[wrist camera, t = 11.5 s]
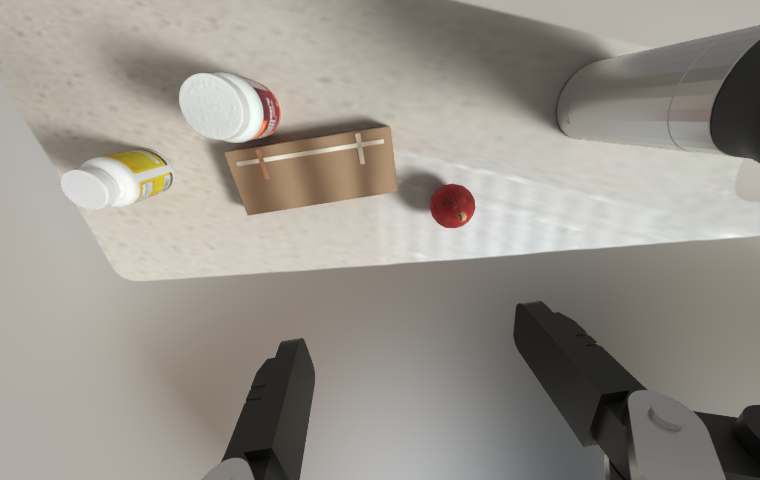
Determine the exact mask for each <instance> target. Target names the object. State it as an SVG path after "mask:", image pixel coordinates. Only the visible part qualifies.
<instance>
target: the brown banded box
mask: <svg viewBox="0 0 760 480" xmlns="http://www.w3.org/2000/svg"><path fill="white" fill-rule="evenodd" d="M224 154H225V157H226V159H227V162H228V165H229V167H230V170H231V173H232V175H233V178H234V180H235V183H236V186H237V188H238V191H239V194H240V196H241V199H242V202H243V204H244V207H245V210H246V212H247V215H254V214H260V213H266V212H272V211H279V210H285V209H291V208H298V207H304V206H310V205H316V204H323V203H329V202H335V201H341V200H348V199H354V198H360V197H367V196H373V195H379V194H385V193H392V192H398V189H397V181H396V172H395V163H394V154H393V146H392V137H391V128H390V126H382V127H376V128H369V129H363V130H357V131H350V132H344V133H337V134H331V135H325V136H318V137H312V138H306V139H299V140H293V141H286V142H280V143H274V144H267V145H261V146H255V147H248V148H242V149H235V150H232V151H228V152H225V153H224Z"/></svg>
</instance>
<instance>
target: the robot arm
mask: <svg viewBox="0 0 760 480" xmlns="http://www.w3.org/2000/svg"><path fill="white" fill-rule="evenodd" d="M557 119H558V123H559V126H560V128H561V130H562V131H563V132H564V133H565V134H566V135H568V136H569V137H571V138H574V139H581V140H590V141H598V142H606V143H615V144H624V145H633V146H642V147H651V148H660V149H669V150H678V151H687V152H698V153H707V154H716V155H725V156H734V157H743V158H750V159H753V160H755V161H757V162H759V163H760V25H758V26H753V27H749V28H745V29H740V30H736V31H731V32H727V33H723V34H718V35H714V36H709V37H705V38H700V39H695V40H691V41H686V42H682V43H677V44H673V45H668V46H664V47H659V48H655V49H650V50H646V51H641V52H637V53H632V54H627V55H622V56H618V57H613V58H609V59H605V60H600V61H596V62H593V63H590V64H588V65H586V66H584V67H583V68H581V69H580V70H579V71H578V72H576V73H575V74H574V75H573V76H572V77H571V79H570V80H569V81H568V82H567V84H566V85H565V87H564V89H563V91H562V93H561V95H560V98H559V102H558V106H557ZM513 336H514V341H515V345H516V347H517V349H518V351H519V353H520V354H521V355H522V357H523V358H524V360H525V361H526V363H527V364H528V366H529V367H530V369H531V370H532V371H533V373H534V375H535V376H536V377H537V379H538V380H539V382H540V383H541V385H542V386H543V388H544V389H545V391H546V392H547V394H548V395H549V396H550V398H551V399H552V401H553V402H554V404H555V405H556V407H557V408H558V410H559V411H560V413H561V414H562V416H563V417H564V419H565V420H566V421H567V423H568V424H569V426H570V427H571V428H572V430H573V432H574V433H575V435H576V436H577V438H578V439H579V441H580V442H581V443H582V445H583V447H586V446H592V445H598V444H599V446H600V447H601V448H602V450H603V451H604V453H605V458H604V465H605V479H606V480H760V405H752V406H748V407H746V408H745V409H744V410H743V412H742V413H741V414H740V416H739V417H738V418H736V417H729V416H722V415H715V414H707V413H701V412H695V411H692V410H690V409H689V408H688V407H686V406H685V405H684V404H682V403H680V402H679V401H677V400H675V399H673V398H671V397H669V396H667V395H664V394H661V393H658V392H655V391H649V390H647V389H646V388H645V387H643V386H642V385H641V384H640V383H639V382H638V381H637V380H636V379H635V378H634V377H633V376H632V375H631V374H630V373H629V372H628V371H627V370H625V369H624V367H622V366H621V365H620V364H619V363H618V362H617V361H616V360H615V359H614V358H613V357H612V356H611V355H610V354H609V353H608V352H607V351H606V350H605V349H603V347H601V346H599V345H598V343H597V342H596V341H595V340H594V339H593V338H592V337H591V336H588V334H587V332H586V331H585V330H583V328H581V327H580V326H579V325H578V324H577V323H576V322H575V321H574V320H572V319H570V318H568V317H566V316H565V315H563V314H561V313H559V312H558V313H553V312H552V311H551V310H550V309H549V308H548V307H547V306H546V305H545V304H544V303H543V302H542V301H532V302H526V303H519V304H517V306H516V313H515V322H514V333H513ZM314 385H315V371H314V366H313V363H312V360H311V357H310V354H309V352H308V349H307V346H306V344H305V341H304V339H303V338H299V339H293V340H288V341H282V342H281V343H280V345H279V348H278V351H277V354H276V357H275V358H271V359H267V360H266V362H265V363H264V364H263V365H262V366H261V368H260V369H259V370H258V372H257V373H256V376H255V378H254V381H253V383H252V386H251V390H250V391H249V394H248V396H247V399H246V403H245V404H244V407H243V409H242V412H241V414H240V417H239V419H238V422H237V425H236V427H235V430H234V432H233V435H232V437H231V440H230V442H229V445H228V447H227V450H226V453H225V455H224V457H223V459H222V461H221V463H219V464H218V465H217V466H215V467H214V468H213V469H212V470H210V471H209V472H208V473H207V474H206V475H205V476H204V478H203V479H202V480H299V479H300V473H301V466H302V460H303V453H304V447H305V441H306V435H307V429H308V423H309V416H310V409H311V404H312V397H313V391H314Z"/></svg>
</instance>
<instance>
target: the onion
mask: <svg viewBox="0 0 760 480" xmlns="http://www.w3.org/2000/svg"><path fill="white" fill-rule="evenodd" d="M430 209H431V213H432V216H433V218H434V219H435V220H436V222H437V223H439V224H440V225H442V226H444V227H445V228H457V227H460V226H463V225H464V224H466V223H467V222H468V221H469V220H470V219H471V217H472V216H473V213H474V210H475V200H474V198H473V196H472V194H471V193H470V191H469V190H467V189H466V188H465V187H463V186H460V185H456V184H449V185H444V186H442V187H441V188H439V189H438V190H436V192H435V193H434V195H433V196H432V198H431V204H430Z"/></svg>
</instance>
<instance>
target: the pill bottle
mask: <svg viewBox="0 0 760 480" xmlns="http://www.w3.org/2000/svg"><path fill="white" fill-rule="evenodd" d="M179 105H180V109H181V111H182V114H183V116H184V118H185V119H186V121H187V122H188V123H189V125H190V126H191V127H192V128H193V129H194V130H196V131H197V132H198V133H200V134H201V135H203V136H205V137H208V138H211V139H215V140H223V141H226V142H232V143H241V142H246V141H250V140H255V139H259V138H264V137H267V136H269V135H271V134H273V133H274V132H275V131H276V130H277V129H278V127H279V125H280V122H281V107H280V104H279V102H278V100H277V98H276V96H275V95H274V94H273V93H272V92H271V91H270V90H269V89H268V88H267V87H265V86H264V85H262V84H260V83H257V82H254V81H251V80H248V79H245V78H242V77H239V76H237V75H234V74H230V73H225V72H216V73H211V74H210V73H197V74H194V75H192V76H190V77H188V78H187V79H186V80H185V81H184V82H183V84H182V86H181V88H180V92H179Z"/></svg>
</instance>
